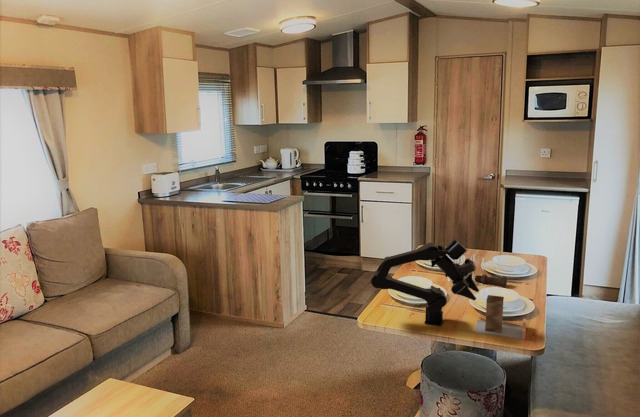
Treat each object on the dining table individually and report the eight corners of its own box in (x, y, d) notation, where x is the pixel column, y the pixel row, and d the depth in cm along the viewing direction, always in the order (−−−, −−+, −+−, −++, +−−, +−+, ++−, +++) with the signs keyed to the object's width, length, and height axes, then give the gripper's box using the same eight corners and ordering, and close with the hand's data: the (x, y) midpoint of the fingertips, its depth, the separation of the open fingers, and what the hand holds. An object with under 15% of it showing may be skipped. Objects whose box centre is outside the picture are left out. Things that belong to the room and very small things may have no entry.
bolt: (475, 284, 262) (505, 289, 253) (473, 282, 258) (503, 287, 249) (477, 273, 263) (507, 277, 255) (474, 271, 259) (505, 275, 251)
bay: (473, 333, 204) (474, 323, 203) (477, 321, 215) (477, 312, 214) (525, 340, 196) (525, 331, 196) (525, 328, 207) (526, 318, 206)
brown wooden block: (485, 330, 205) (486, 300, 202) (486, 324, 210) (487, 294, 208) (501, 333, 203) (502, 302, 200) (502, 326, 208) (503, 296, 205)
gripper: (459, 262, 197) (489, 291, 195) (466, 248, 213) (493, 275, 211) (439, 279, 201) (468, 308, 199) (447, 265, 218) (474, 291, 216)
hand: (476, 295), depth 206 cm, fingers open, 9 cm apart
